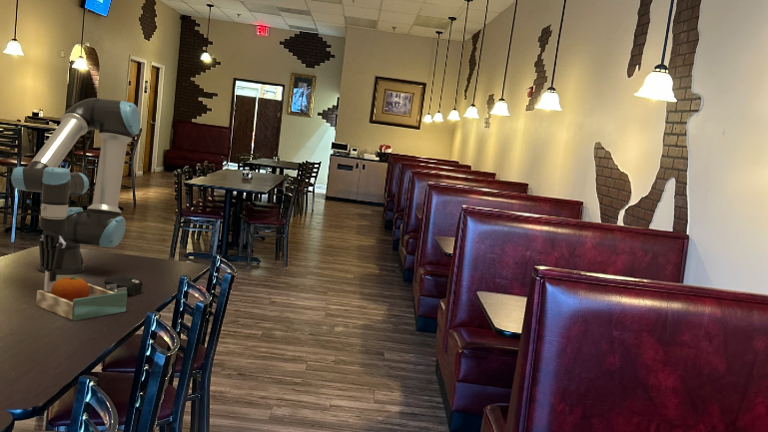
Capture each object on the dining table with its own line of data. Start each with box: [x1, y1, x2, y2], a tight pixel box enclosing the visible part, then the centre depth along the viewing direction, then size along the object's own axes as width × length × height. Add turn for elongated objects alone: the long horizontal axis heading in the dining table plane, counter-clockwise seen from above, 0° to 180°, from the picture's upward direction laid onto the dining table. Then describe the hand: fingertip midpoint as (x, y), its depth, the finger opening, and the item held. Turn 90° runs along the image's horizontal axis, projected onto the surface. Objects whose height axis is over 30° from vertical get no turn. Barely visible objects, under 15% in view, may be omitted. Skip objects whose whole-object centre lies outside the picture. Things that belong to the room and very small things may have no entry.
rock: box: [103, 275, 144, 297], centre depth 218 cm, size 9×10×6 cm
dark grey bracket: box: [106, 284, 127, 293], centre depth 205 cm, size 6×4×6 cm, turn 58°
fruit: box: [50, 276, 90, 302], centre depth 199 cm, size 11×10×8 cm
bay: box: [35, 283, 128, 322], centre depth 196 cm, size 19×17×6 cm
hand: (49, 290), depth 205 cm, fingers closed
